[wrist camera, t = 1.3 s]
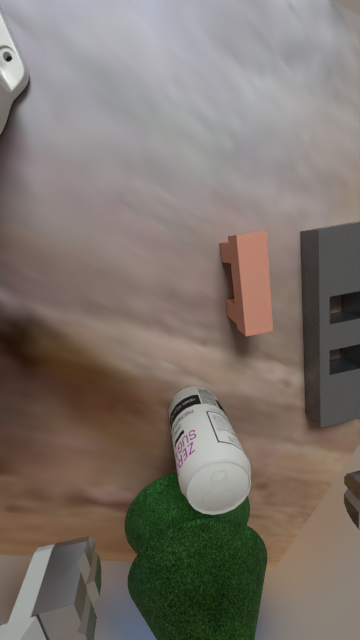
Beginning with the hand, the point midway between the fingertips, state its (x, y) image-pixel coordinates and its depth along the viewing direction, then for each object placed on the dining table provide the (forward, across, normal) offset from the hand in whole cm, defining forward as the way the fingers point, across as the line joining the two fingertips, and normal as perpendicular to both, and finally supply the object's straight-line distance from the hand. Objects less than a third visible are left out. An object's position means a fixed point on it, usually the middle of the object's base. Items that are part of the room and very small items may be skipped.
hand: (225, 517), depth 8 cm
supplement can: (+31, -2, +16) cm, 35 cm away
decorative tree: (+31, +1, +31) cm, 44 cm away
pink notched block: (+30, -11, -3) cm, 32 cm away
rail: (+30, -25, +7) cm, 40 cm away
